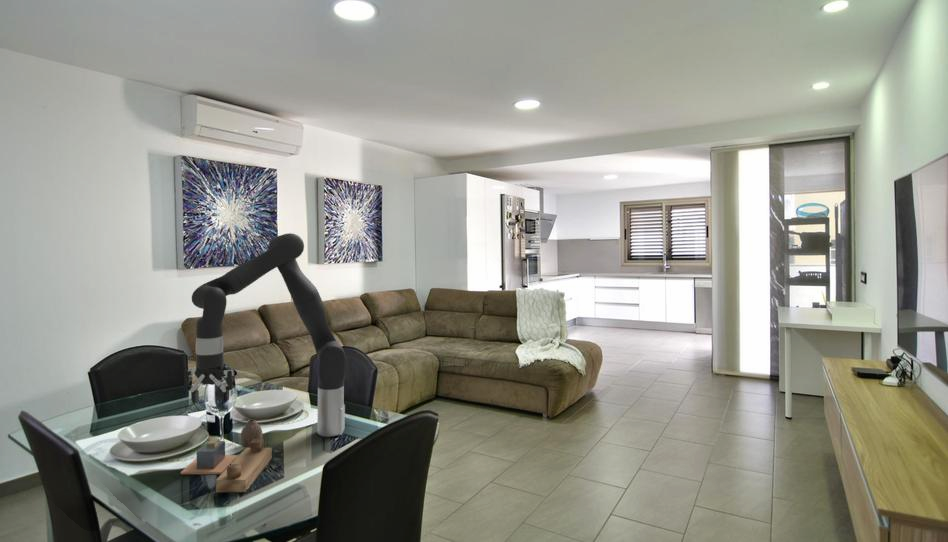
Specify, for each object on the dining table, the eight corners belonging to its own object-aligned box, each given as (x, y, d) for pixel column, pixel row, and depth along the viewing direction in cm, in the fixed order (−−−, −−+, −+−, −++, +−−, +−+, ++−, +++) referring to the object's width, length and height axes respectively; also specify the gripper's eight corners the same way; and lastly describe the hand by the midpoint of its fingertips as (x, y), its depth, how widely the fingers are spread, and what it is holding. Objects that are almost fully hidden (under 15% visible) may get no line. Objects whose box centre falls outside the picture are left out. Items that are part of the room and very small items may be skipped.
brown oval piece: (244, 441, 175) (244, 417, 175) (265, 441, 176) (265, 417, 175) (237, 450, 168) (237, 424, 168) (258, 449, 169) (258, 424, 168)
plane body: (271, 458, 163) (271, 438, 162) (245, 492, 141) (245, 469, 141) (246, 458, 162) (246, 438, 162) (216, 492, 140) (215, 469, 140)
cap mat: (237, 456, 163) (237, 455, 163) (221, 474, 151) (221, 472, 151) (199, 457, 162) (199, 455, 162) (180, 474, 150) (180, 472, 150)
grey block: (225, 457, 161) (224, 437, 160) (213, 469, 153) (213, 448, 152) (208, 457, 160) (208, 437, 160) (196, 469, 153) (196, 448, 152)
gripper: (238, 348, 159) (238, 399, 160) (191, 348, 158) (192, 399, 159) (228, 354, 151) (228, 407, 152) (179, 353, 150) (180, 407, 151)
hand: (210, 403), depth 155 cm, fingers open, 8 cm apart
